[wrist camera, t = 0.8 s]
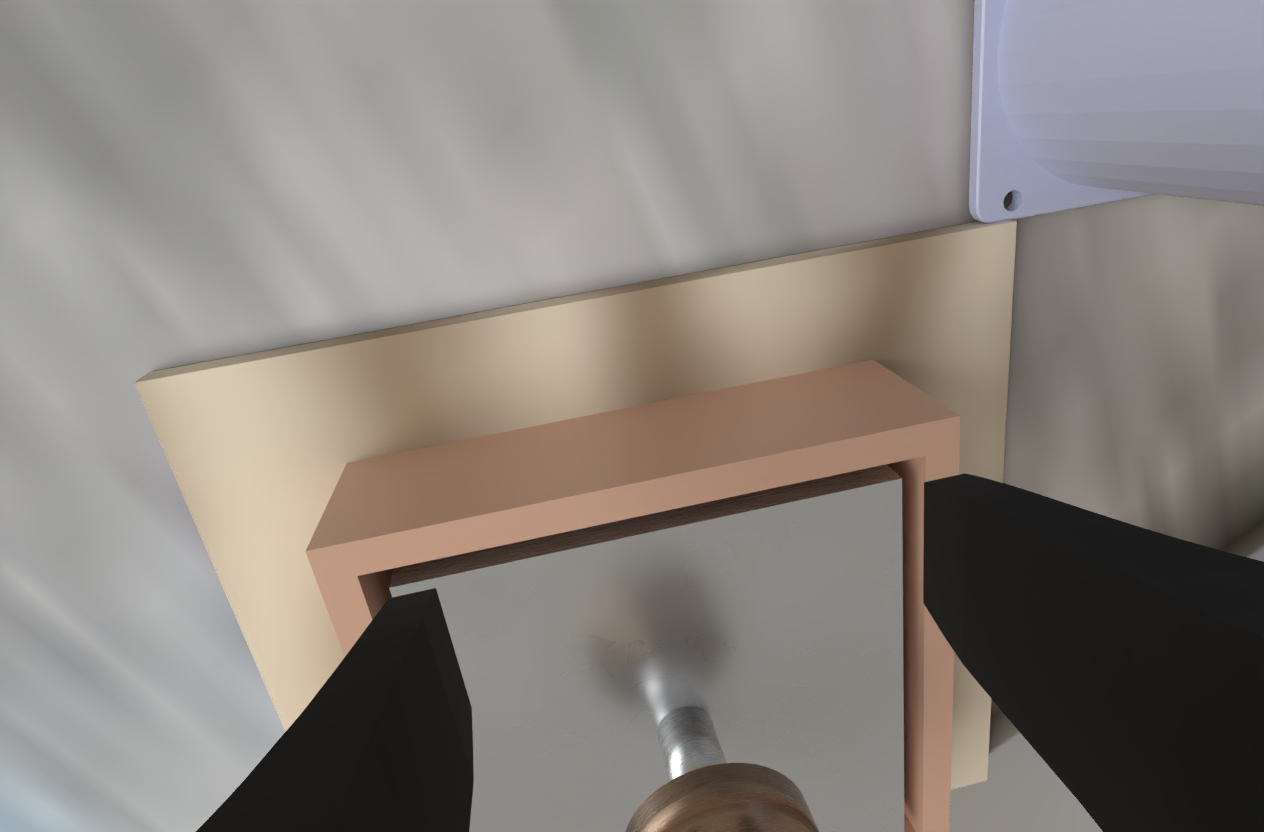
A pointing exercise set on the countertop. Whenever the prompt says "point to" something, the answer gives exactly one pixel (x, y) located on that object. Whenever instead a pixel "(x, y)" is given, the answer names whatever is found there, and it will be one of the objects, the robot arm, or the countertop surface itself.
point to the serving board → (567, 404)
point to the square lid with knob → (689, 666)
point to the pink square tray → (662, 505)
